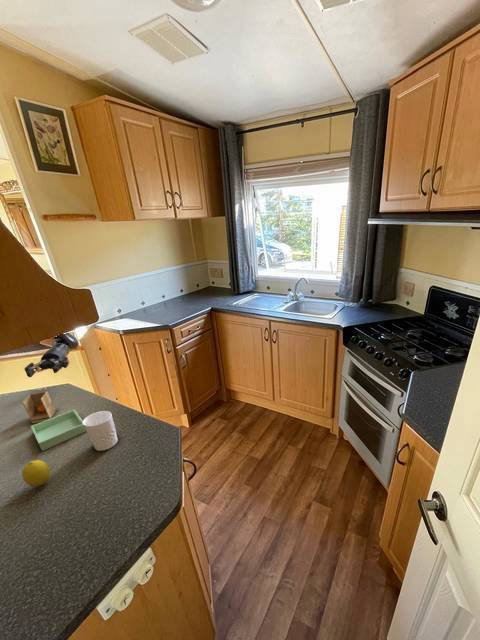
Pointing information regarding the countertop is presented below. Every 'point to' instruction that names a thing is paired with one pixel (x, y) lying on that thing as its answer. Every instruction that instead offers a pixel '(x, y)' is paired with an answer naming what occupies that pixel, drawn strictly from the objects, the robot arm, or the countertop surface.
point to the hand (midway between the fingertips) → (41, 373)
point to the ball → (41, 409)
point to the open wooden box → (37, 400)
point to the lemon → (36, 473)
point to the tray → (58, 429)
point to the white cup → (101, 430)
